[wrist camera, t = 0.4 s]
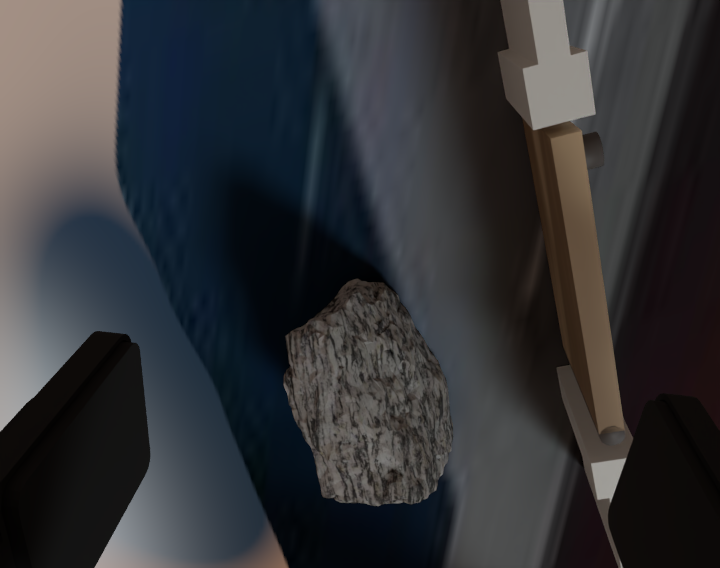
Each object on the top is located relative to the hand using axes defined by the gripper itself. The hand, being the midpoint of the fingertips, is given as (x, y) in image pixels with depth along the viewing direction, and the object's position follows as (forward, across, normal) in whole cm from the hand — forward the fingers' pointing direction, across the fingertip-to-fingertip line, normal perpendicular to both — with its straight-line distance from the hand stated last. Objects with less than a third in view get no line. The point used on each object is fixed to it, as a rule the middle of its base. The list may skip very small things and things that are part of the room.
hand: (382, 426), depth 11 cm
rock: (+25, 0, +15) cm, 29 cm away
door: (+25, -10, +5) cm, 27 cm away
